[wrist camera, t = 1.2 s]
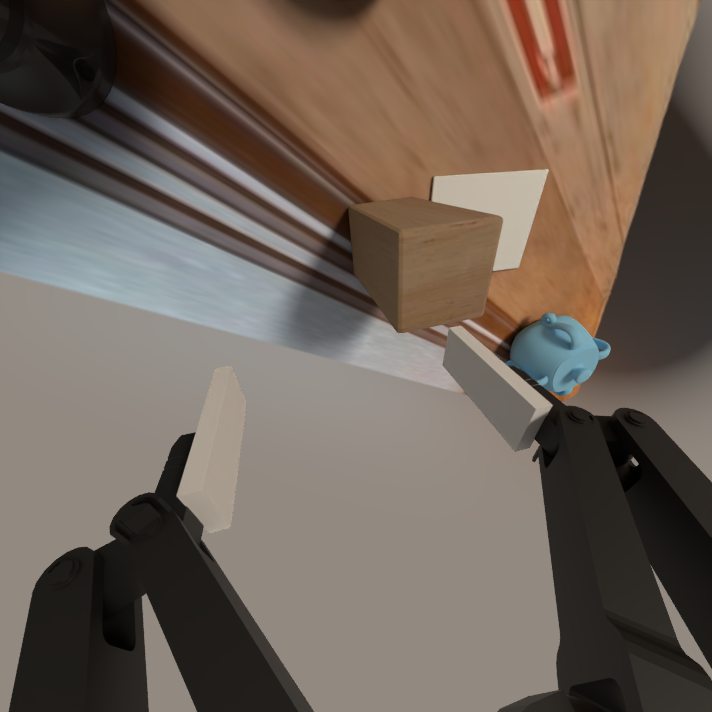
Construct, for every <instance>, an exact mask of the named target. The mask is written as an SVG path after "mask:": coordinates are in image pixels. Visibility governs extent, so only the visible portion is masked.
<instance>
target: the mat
mask: <svg viewBox="0 0 712 712" xmlns="http://www.w3.org/2000/svg"><path fill="white" fill-rule="evenodd" d="M548 171H549V169H545V170H529V171H514V172H498V173H482V174H466V175H450V176H434V177H433V183H432V192H431V201H433V202H437V203H442V204H447V205H451V206H456V207H461V208H466V209H470V210H475V211H480V212H484V213H489V214H494V215H498V216H501V217H502V218H503V225H502V229H501V234H500V239H499V243H498V248H497V253H496V257H495V262H494V267H493V271H497V270H505V269H513V268H519V265H520V261H521V258H522V255H523V252H524V248H525V245H526V242H527V239H528V236H529V232H530V229H531V226H532V223H533V219H534V216H535V213H536V210H537V206H538V203H539V200H540V197H541V193H542V190H543V187H544V184H545V180H546V177H547V174H548Z"/></svg>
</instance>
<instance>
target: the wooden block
mask: <svg viewBox="0 0 712 712" xmlns="http://www.w3.org/2000/svg"><path fill="white" fill-rule="evenodd" d="M348 212H349V223H350V234H351V245H352V256H353V266H354V274H355V275H356V277H357V278H358V279H359V281H360V282H361V283H362V285H363V286H364V288H365V289H366V290H367V292H368V293H369V294H370V296H371V297H372V299H373V300H374V301H375V303H376V304H377V305H378V307H379V308H380V310H381V311H382V312H383V314H384V315H385V316H386V318H387V319H388V321H389V322H390V323H391V325H392V326H393V327H394V329H395V330H396V332H398V333H404V332H409V331H414V330H419V329H424V328H429V327H434V326H438V325H443V324H448V323H453V322H458V321H463V320H468V319H473V318H477V317H481V316H482V315H483V313H484V308H485V304H486V299H487V294H488V290H489V285H490V281H491V276H492V271H493V267H494V262H495V257H496V253H497V248H498V243H499V239H500V234H501V229H502V225H503V218H502V217H501V216H498V215H494V214H489V213H484V212H480V211H475V210H470V209H466V208H461V207H456V206H451V205H447V204H442V203H437V202H433V201H428V200H423V199H418V198H414V197H409V198H401V199H394V200H386V201H378V202H371V203H363V204H355V205H351V206H349V209H348Z"/></svg>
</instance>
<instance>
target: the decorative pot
mask: <svg viewBox="0 0 712 712" xmlns="http://www.w3.org/2000/svg"><path fill="white" fill-rule="evenodd" d="M598 348H600V349H602V350H603V351H601V352H599V350H598ZM610 349H611V348H610V345H609V344H608V343H607V342H605V341H602V340H599V339H597V338H593V337H591V336H590V334H589V333H588V331H587V330H586V329H585V328H584V327H583V326H582V325H581V324H580V323H579V322H577V321H576V320H575V319H573V318H571V317H569V316H565V315H558V316H555V315H554V314H553V313H545V314H544V315H543V316H542V317H541V320H539V321H537V322H535V323H532V324H531V325H529V326H527V327H526V328H524V329H523V330H521V331H520V332H519V333H518V334H517V335H516V336H515V337H514V341H513V343H512V346H511V350H510V360H509V361H507V362H505V364H506V365H507V366H508V367H509V366H515V367H517V368H519V369H521V370H523V371H524V372H526V373H527V374H528V375H529V376H530V377H532V379H534V380H535V381H537V382H538V383H539V385H541V386H543V387H544V388H545V389H546V390H548V391H552V392H554V393H555V394H557V395H559V396H566V395H568V394H570V393H571V392H572V390H573V387H574V386H576V385H578V384H580V383H582V382H584V381H586V380H587V379H588V378H589V377H590V376H591V374H592V373H593V371H594V369H595V367H596V365H597V363H598V360H601V359H603V358H605V357H607V355H609V353H610Z"/></svg>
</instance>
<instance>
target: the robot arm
mask: <svg viewBox="0 0 712 712" xmlns="http://www.w3.org/2000/svg"><path fill="white" fill-rule="evenodd" d="M115 69H116V49H115V41H114V35H113V30H112V26H111V22H110V19H109V15H108V12H107V9H106V6H105V4H104V1H103V0H0V103H2V104H5V105H7V106H10V107H12V108H15V109H18V110H21V111H25V112H29V113H33V114H38V115H42V116H47V117H54V118H72V117H78V116H82V115H84V114H87V113H89V112H91V111H93V110H94V109H96V108H97V107H98V106H99V105H100V104H101V103H102V102H103V101H104V100H105V98H106V97H107V95H108V93H109V91H110V89H111V87H112V84H113V80H114V76H115ZM443 366H444V367H445V369H446V370H447V371H448V372H449V373H450V375H451V376H452V377H453V378H454V379H455V381H456V382H457V383H458V384H459V385H460V386H461V388H462V389H463V390H464V391H465V392H466V394H467V395H468V396H469V397H470V398H471V400H472V401H473V402H474V403H475V404H476V405H477V407H478V408H479V409H480V410H481V411H482V413H483V414H484V415H485V416H486V418H487V419H488V420H489V421H490V422H491V423H492V425H493V426H494V427H495V428H496V430H497V431H498V432H499V433H500V434H501V436H502V437H503V438H504V439H505V440H506V442H507V443H508V444H509V445H510V446H511V447H512V449H513V450H514V451H515V452H516V451H519V450H523V449H527V448H530V446H531V444H532V443H533V441H534V439H535V440H536V441H537V442H538V443H539V444H540V446H539V447H538V449H537V451H536V453H535V454H534V456H533V459H532V461H533V462H535V461H536V459H537V458H538V457H539V464H540V473H541V480H542V489H543V497H544V505H545V513H546V521H547V530H548V538H549V546H550V554H551V562H552V570H553V579H554V587H555V595H556V604H557V612H558V620H559V628H560V645H559V649H558V653H557V662H556V664H557V679H558V688H559V690H557V691H552V692H548V693H542V694H538V695H533V696H528V697H526V698H524V699H521V700H519V701H517V702H514V703H512V704H510V705H508V706H506V707H503V708H501V709H499V711H498V712H712V680H711V678H710V677H709V676H708V674H707V673H706V672H705V670H704V669H703V668H702V667H701V666H700V665H699V664H698V663H697V662H695V661H694V660H693V659H691V658H690V657H689V656H687V655H686V654H685V652H684V651H683V650H682V648H681V646H680V644H679V642H678V640H677V637H676V634H675V632H674V629H673V626H672V623H671V621H670V618H669V615H668V612H667V609H666V607H665V604H664V601H663V599H662V596H661V593H660V590H659V587H658V585H657V582H656V579H655V577H654V574H653V571H652V568H653V569H654V571H655V573H656V575H657V576H658V578H659V580H660V581H661V583H662V585H663V586H664V588H665V590H666V591H667V593H668V595H669V596H670V598H671V600H672V602H673V604H674V605H675V607H676V609H677V610H678V612H679V614H680V615H681V617H682V619H683V620H684V622H685V624H686V626H687V627H688V629H689V631H690V633H691V634H692V636H693V637H694V639H695V641H696V643H697V644H698V646H699V648H700V650H701V651H702V652H703V655H704V656H705V658H706V660H707V662H708V663H709V665H710V667H711V668H712V482H711V481H710V480H709V479H708V478H707V477H706V476H705V475H704V474H703V473H702V471H701V470H700V469H699V468H698V467H697V466H696V465H695V464H694V463H693V462H692V461H691V460H690V459H689V457H688V456H687V455H686V454H685V453H684V452H683V451H682V450H681V449H680V448H679V447H678V445H677V444H676V443H675V442H674V441H673V440H672V439H671V438H670V437H669V436H668V435H667V434H666V433H665V431H664V430H663V429H662V428H661V427H660V426H659V425H658V424H657V423H656V422H655V421H654V420H653V419H652V418H651V417H649V416H647V415H646V414H644V413H642V412H640V411H637V410H634V409H629V408H619V409H617V410H616V411H615V412H614V413H613V415H612V416H594V415H592V414H591V413H590V412H588V411H586V410H584V409H582V408H579V407H576V406H566V405H564V404H563V403H562V402H561V401H560V400H558V399H557V398H556V397H555V396H553V395H552V394H551V393H550V392H549V391H547V390H546V389H545V388H544V387H543V386H541V385H539V383H538V382H537V381H535V380H534V379H532V377H530V376H529V375H528V374H527V373H526V372H524V371H523V370H521V369H519V368H517V367H515V366H509V367H508V366H507V365H506V364H505V363H503V362H502V361H501V360H500V359H499V358H498V357H496V356H495V355H494V354H493V353H492V352H491V351H490V350H488V349H487V348H486V347H485V346H484V345H483V344H481V343H480V342H479V341H478V340H477V339H476V338H474V337H473V336H472V335H471V334H470V333H469V332H468V331H466V330H465V329H464V328H463V327H462V326H457V327H451V328H449V331H448V337H447V343H446V348H445V354H444V360H443ZM245 413H246V401H245V399H244V396H243V394H242V391H241V389H240V386H239V384H238V382H237V379H236V377H235V374H234V372H233V369H232V367H231V366H228V367H222V368H216V369H215V372H214V375H213V378H212V382H211V385H210V388H209V391H208V394H207V398H206V401H205V404H204V408H203V411H202V414H201V417H200V421H199V424H198V427H197V431H196V432H195V433H190V434H186V435H182V436H180V438H179V439H178V440H177V441H176V443H175V444H174V445H173V446H172V448H171V451H170V454H169V456H168V461H167V462H166V464H165V467H164V471H163V472H162V475H161V478H160V480H159V483H158V485H157V488H156V491H155V493H145V494H142V495H139V496H137V497H135V498H133V499H132V500H130V501H129V502H127V503H126V504H125V505H124V506H123V507H122V508H120V510H119V511H118V512H117V514H116V515H115V516H114V517H113V520H112V522H111V525H110V535H112V536H113V537H114V538H116V540H114V541H112V542H110V543H109V544H106V545H104V546H102V547H101V548H99V549H97V550H95V551H93V550H91V549H89V548H88V547H79V548H76V549H74V550H71V551H69V552H67V553H65V554H64V555H62V556H61V557H59V558H58V559H56V560H55V561H54V562H53V563H52V564H51V565H50V566H49V567H48V568H47V569H46V570H45V571H44V573H43V574H42V575H41V577H40V578H39V580H38V581H37V583H36V585H35V588H34V590H33V593H32V598H31V603H30V608H29V613H28V618H27V623H26V628H25V633H24V638H23V643H22V648H21V653H20V658H19V663H18V668H17V673H16V678H15V683H14V688H13V693H12V698H11V703H10V708H9V712H149V708H148V692H147V677H146V662H145V661H146V660H145V645H144V628H143V612H142V596H143V595H144V594H146V593H147V595H148V598H149V600H150V602H151V605H152V607H153V610H154V612H155V614H156V617H157V619H158V621H159V624H160V626H161V628H162V630H163V633H164V635H165V637H166V640H167V642H168V644H169V647H170V649H171V651H172V654H173V656H174V659H175V661H176V663H177V665H178V668H179V670H180V672H181V675H182V677H183V679H184V682H185V684H186V686H187V689H188V691H189V693H190V696H191V698H192V700H193V703H194V705H195V707H196V710H197V712H314V711H313V709H311V706H310V705H309V703H308V702H307V700H306V699H305V697H304V696H303V694H302V693H301V691H300V690H299V688H298V686H297V685H296V683H295V682H294V680H293V679H292V677H291V676H290V674H289V673H288V671H287V670H286V668H285V667H284V665H283V663H282V662H281V661H280V659H279V657H278V656H277V654H276V653H275V651H274V650H273V648H272V647H271V645H270V644H269V642H268V640H267V639H266V637H265V636H264V634H263V633H262V631H261V630H260V628H259V627H258V625H257V623H256V622H255V621H254V619H253V617H252V616H251V614H250V613H249V611H248V610H247V608H246V607H245V605H244V604H243V602H242V600H241V599H240V597H239V596H238V594H237V593H236V591H235V590H234V588H233V587H232V585H231V584H230V582H229V581H228V579H227V577H226V576H225V574H224V573H223V571H222V570H221V568H220V567H219V565H218V564H217V562H216V560H215V559H214V557H213V556H212V554H211V553H210V551H209V550H208V548H207V547H206V545H205V544H204V542H203V541H202V540H201V536H202V532H203V527H204V528H205V529H206V530H207V531H208V533H212V532H216V531H220V530H224V529H227V528H231V521H232V514H233V505H234V498H235V489H236V483H237V475H238V467H239V460H240V452H241V444H242V436H243V428H244V421H245ZM633 457H634V458H635V459H636V461H637V462H638V463H639V465H638V466H635V465H634V464H633V463H632V461H631V459H632V458H633ZM650 564H651V565H650ZM651 566H652V568H651Z"/></svg>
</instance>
